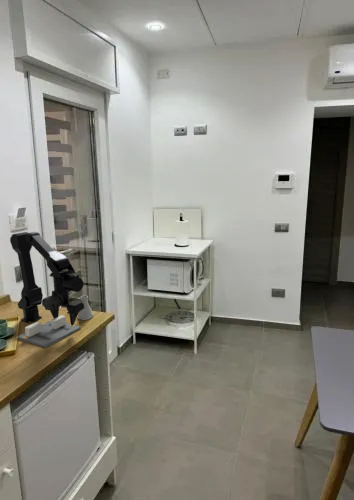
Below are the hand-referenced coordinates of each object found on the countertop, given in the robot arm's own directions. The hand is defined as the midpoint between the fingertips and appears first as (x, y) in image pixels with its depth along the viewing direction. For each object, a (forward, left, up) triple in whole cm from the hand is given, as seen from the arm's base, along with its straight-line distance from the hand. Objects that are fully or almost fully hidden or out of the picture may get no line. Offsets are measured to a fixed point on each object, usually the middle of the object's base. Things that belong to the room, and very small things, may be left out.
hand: (64, 323), depth 152 cm
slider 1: (-7, -10, -2) cm, 12 cm away
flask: (-2, +15, -4) cm, 16 cm away
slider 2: (-3, 0, -2) cm, 4 cm away
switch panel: (-3, -5, -3) cm, 7 cm away
